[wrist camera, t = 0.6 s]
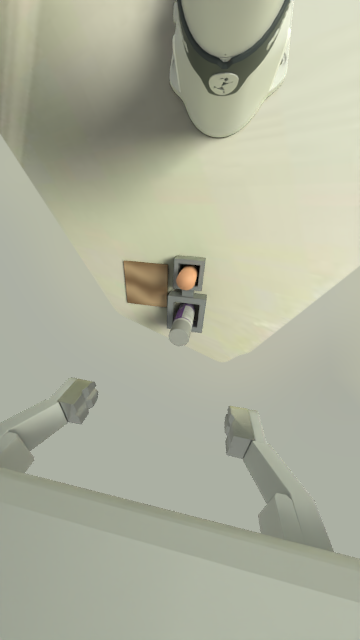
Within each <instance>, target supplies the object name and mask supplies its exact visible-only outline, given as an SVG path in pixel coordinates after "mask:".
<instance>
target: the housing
mask: <svg viewBox="0 0 360 640" xmlns="http://www.w3.org/2000/svg"><path fill="white" fill-rule="evenodd" d="M205 260H206V258H203V257H191V256H179V255H178V256H177V257H175V258H174V280H173V288H176V289H180V288H179V287H178V285H177V283H176V278H177V276H178V274H179V273H180V272H181V264H191V265H200V272H199V281H195V285H194V286H193V288H192V289H190V290H182V292H178V291H170V293H169V295H168V309H167V328H168V329H171V327H172V325H173V322H174V319H175V306H176V302H181V303H189V304H198V305H200V307H199V315H198V321H194V320H193V324H192V329H191V332H198V333H202V327H203V320H204V313H205V306H206V298H207V295H205V294H196V293H194V290H195V291H202V284H203V276H204V268H205Z"/></svg>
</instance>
